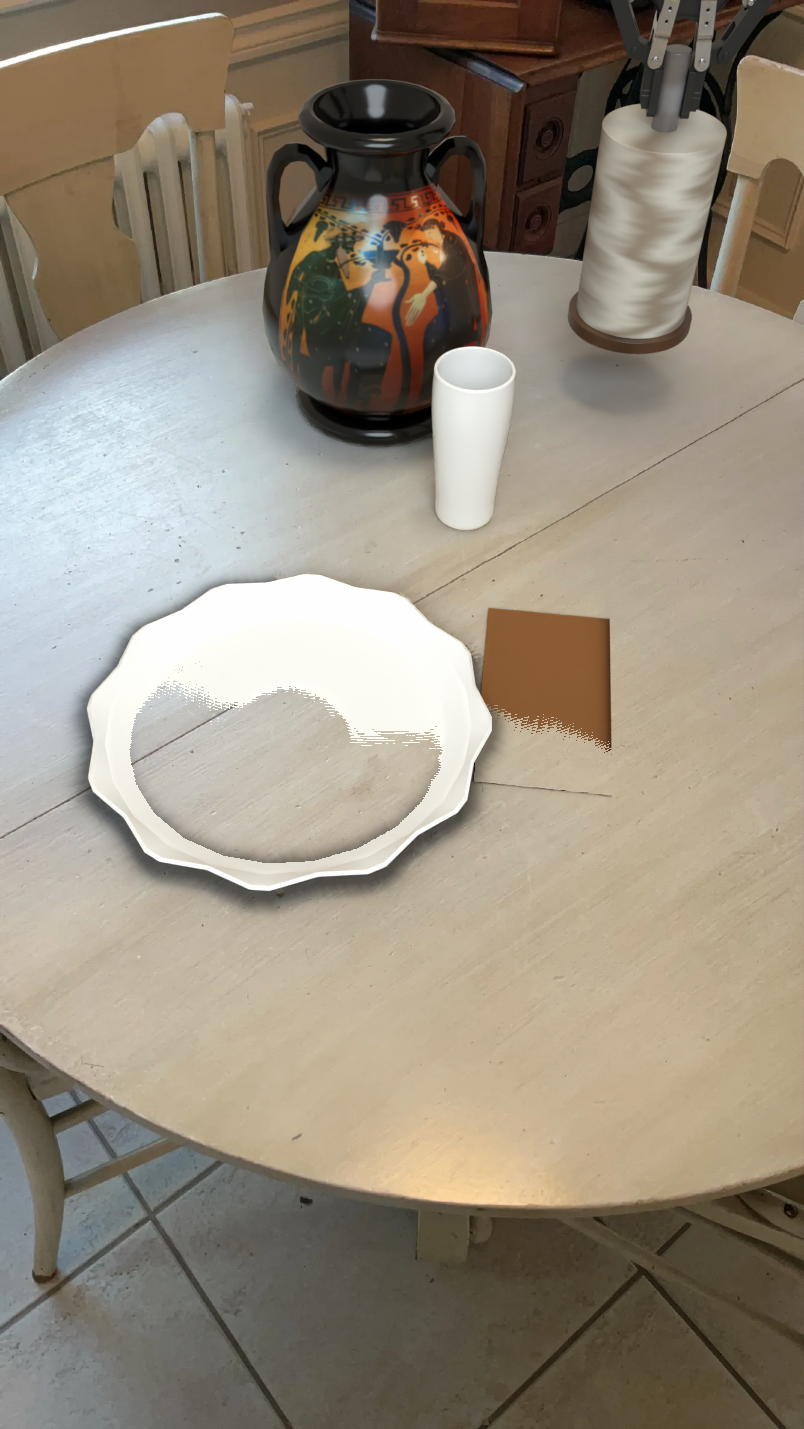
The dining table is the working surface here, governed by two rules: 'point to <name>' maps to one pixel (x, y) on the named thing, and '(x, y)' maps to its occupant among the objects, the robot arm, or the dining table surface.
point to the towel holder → (647, 220)
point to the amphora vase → (374, 261)
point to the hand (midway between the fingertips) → (667, 113)
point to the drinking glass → (470, 432)
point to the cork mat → (549, 671)
